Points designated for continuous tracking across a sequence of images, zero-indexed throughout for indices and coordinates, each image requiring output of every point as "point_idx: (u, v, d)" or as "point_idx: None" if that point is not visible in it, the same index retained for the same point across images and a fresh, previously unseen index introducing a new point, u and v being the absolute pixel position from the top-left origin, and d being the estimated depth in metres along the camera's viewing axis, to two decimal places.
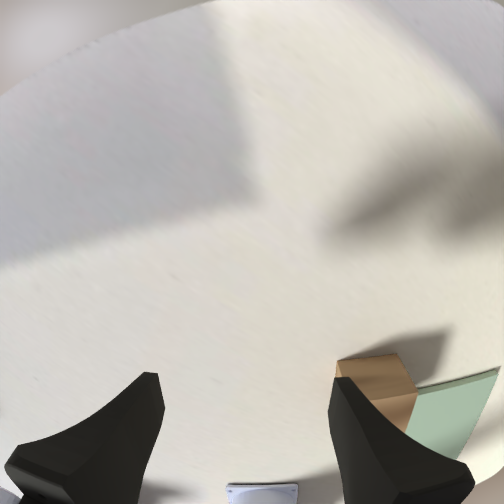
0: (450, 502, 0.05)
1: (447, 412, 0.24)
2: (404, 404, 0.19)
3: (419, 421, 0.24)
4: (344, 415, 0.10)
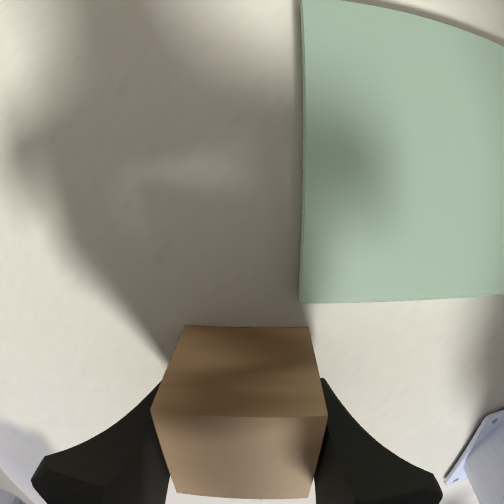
0: None
1: (407, 147, 0.10)
2: (187, 432, 0.08)
3: (406, 240, 0.11)
4: None
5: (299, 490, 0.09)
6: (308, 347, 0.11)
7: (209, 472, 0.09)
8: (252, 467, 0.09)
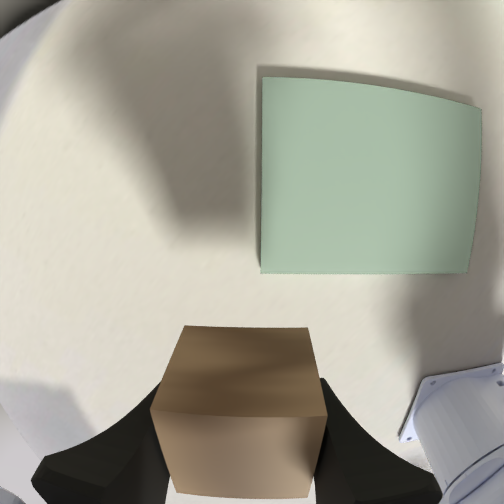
0: None
1: (328, 174, 0.17)
2: (187, 432, 0.08)
3: (329, 234, 0.18)
4: None
5: (298, 490, 0.09)
6: (308, 347, 0.11)
7: (208, 472, 0.09)
8: (252, 466, 0.09)
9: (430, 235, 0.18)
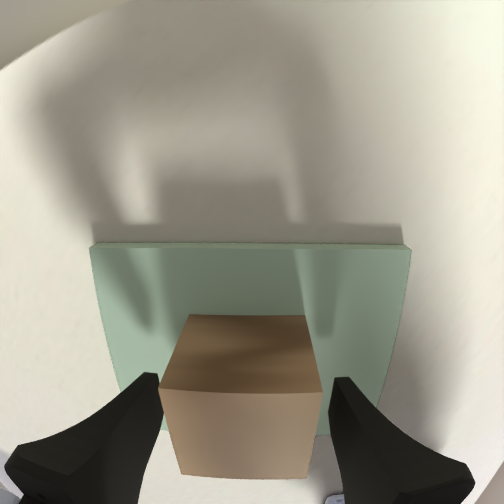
0: (450, 502, 0.05)
1: None
2: (192, 410, 0.09)
3: None
4: (344, 414, 0.10)
5: (298, 470, 0.10)
6: (305, 332, 0.12)
7: (212, 451, 0.10)
8: (253, 445, 0.10)
9: None
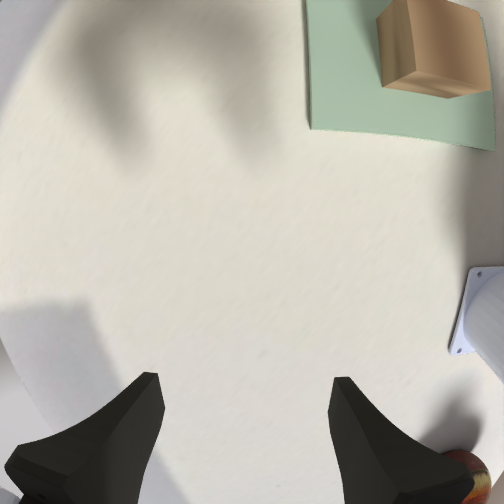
0: (450, 502, 0.05)
1: (365, 47, 0.16)
2: (423, 5, 0.11)
3: (372, 95, 0.17)
4: (344, 415, 0.10)
5: (485, 77, 0.12)
6: None
7: (436, 42, 0.12)
8: (458, 40, 0.11)
9: (458, 108, 0.17)
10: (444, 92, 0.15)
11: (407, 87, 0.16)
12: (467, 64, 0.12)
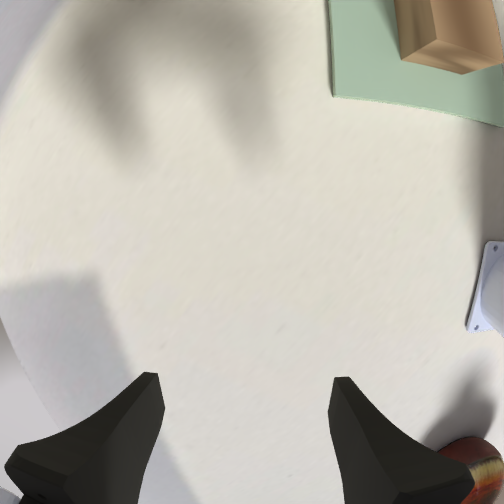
0: (450, 502, 0.05)
1: (384, 23, 0.16)
2: None
3: (391, 67, 0.17)
4: (344, 415, 0.10)
5: (498, 50, 0.11)
6: None
7: (453, 16, 0.11)
8: (472, 16, 0.11)
9: (471, 84, 0.16)
10: (459, 66, 0.15)
11: (425, 60, 0.15)
12: (482, 38, 0.11)
